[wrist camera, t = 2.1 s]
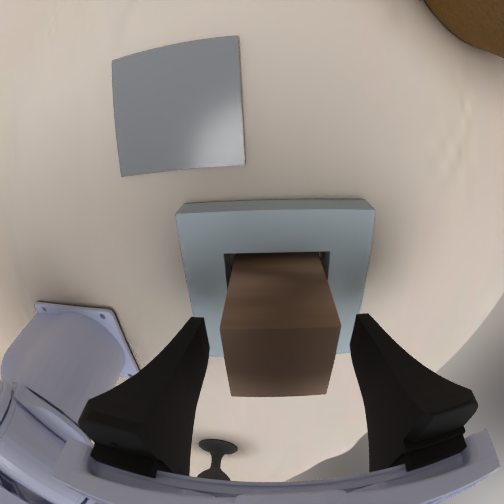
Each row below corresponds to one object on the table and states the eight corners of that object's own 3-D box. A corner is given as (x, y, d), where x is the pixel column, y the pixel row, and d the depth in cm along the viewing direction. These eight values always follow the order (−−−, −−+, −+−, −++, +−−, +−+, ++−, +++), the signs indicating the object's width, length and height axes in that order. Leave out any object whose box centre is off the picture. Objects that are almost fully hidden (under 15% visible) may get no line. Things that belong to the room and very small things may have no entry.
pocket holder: (207, 338, 20) (202, 355, 18) (184, 203, 15) (175, 214, 14) (344, 335, 19) (349, 352, 17) (364, 199, 15) (375, 209, 13)
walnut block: (242, 308, 18) (231, 396, 12) (237, 246, 16) (219, 328, 10) (310, 307, 18) (326, 394, 12) (314, 244, 16) (341, 325, 10)
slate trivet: (124, 175, 15) (121, 176, 14) (115, 61, 11) (111, 60, 11) (245, 163, 14) (244, 165, 14) (238, 37, 11) (237, 35, 11)
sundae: (252, 443, 28) (245, 551, 14) (233, 458, 31) (224, 549, 17) (200, 431, 27) (180, 544, 14) (187, 447, 30) (169, 541, 16)
